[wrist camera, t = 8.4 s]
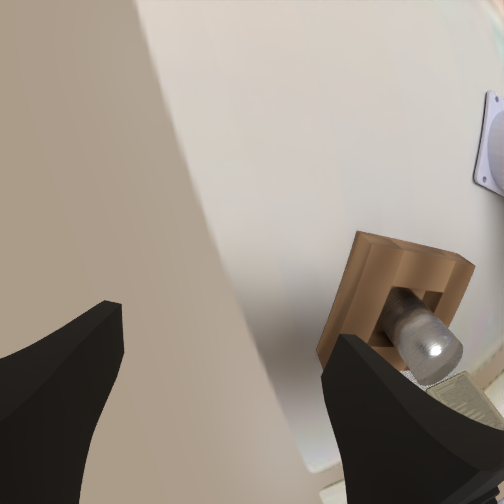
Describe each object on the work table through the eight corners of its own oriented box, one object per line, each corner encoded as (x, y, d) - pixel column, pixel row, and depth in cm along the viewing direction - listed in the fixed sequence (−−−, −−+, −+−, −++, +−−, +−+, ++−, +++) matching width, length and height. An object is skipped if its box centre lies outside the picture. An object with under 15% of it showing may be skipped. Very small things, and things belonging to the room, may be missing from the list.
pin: (411, 278, 20) (464, 330, 14) (416, 313, 22) (461, 367, 15) (370, 299, 21) (414, 360, 14) (379, 332, 22) (417, 393, 15)
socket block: (457, 253, 20) (475, 266, 18) (413, 352, 24) (424, 369, 22) (356, 230, 19) (372, 243, 17) (316, 349, 23) (323, 370, 20)
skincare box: (419, 409, 28) (458, 486, 17) (426, 387, 26) (474, 469, 15) (459, 391, 28) (502, 458, 17) (468, 367, 26) (519, 438, 15)
